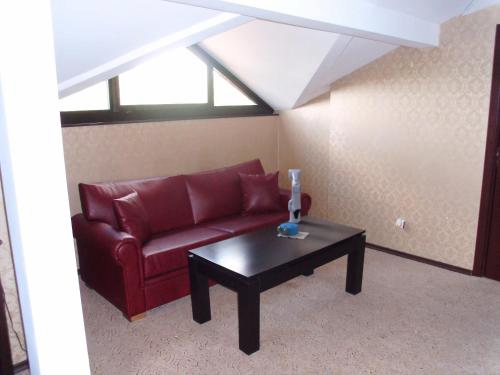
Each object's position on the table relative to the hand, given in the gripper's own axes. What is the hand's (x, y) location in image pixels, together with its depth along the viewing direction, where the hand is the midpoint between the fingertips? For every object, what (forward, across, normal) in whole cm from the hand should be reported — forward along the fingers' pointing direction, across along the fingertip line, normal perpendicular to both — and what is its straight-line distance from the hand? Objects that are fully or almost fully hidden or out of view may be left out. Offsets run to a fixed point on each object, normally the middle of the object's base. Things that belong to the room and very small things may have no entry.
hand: (296, 218), depth 305 cm
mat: (+10, +7, 0) cm, 13 cm away
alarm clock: (+7, -1, -1) cm, 7 cm away
